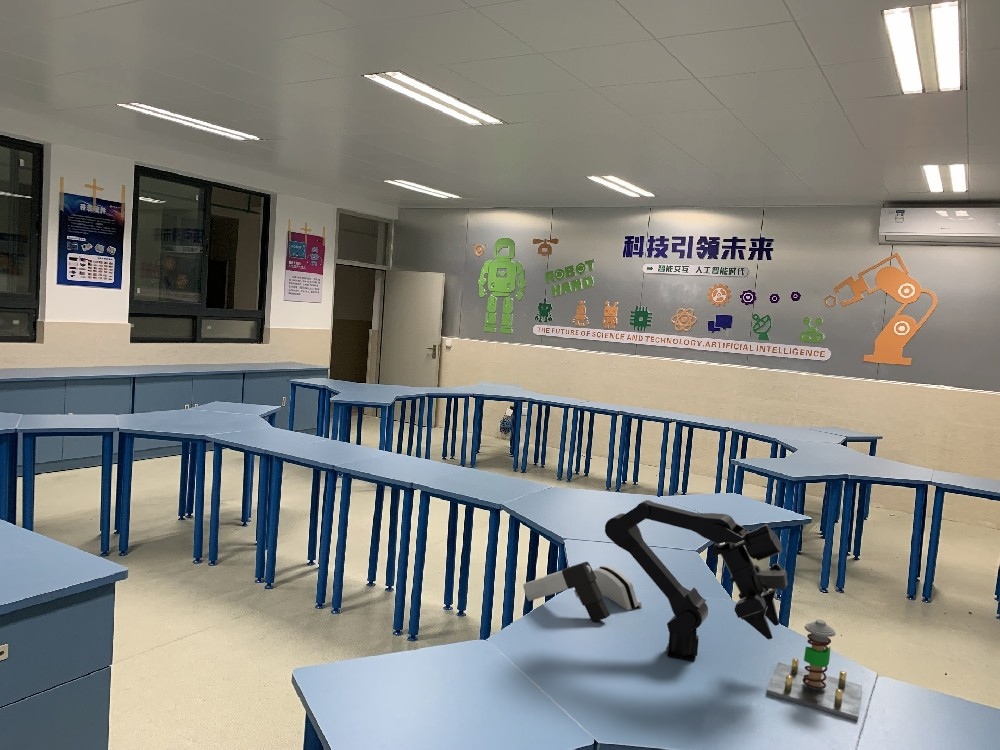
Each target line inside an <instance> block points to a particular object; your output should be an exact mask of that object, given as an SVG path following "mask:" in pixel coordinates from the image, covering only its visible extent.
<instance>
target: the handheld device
mask: <svg viewBox="0 0 1000 750" xmlns="http://www.w3.org/2000/svg"><path fill="white" fill-rule="evenodd" d="M593 571H594V570H593V568H592V567H591V564H590V563H589V562H588V561H584V562H580V563H577V564H574V565H572V566H568V567H566V568H563V569H562V570H560V571H559V570H558V571H557V572H553V573H550V574H547V575H545V576H543V577H539V578H536V579H534V580H531V581H527V582H525V583H523V591H524V595H525V597H526V598H527V601H528V602H531V601H534V600H537V599H540V598H541V599H542V598H544V597H547V596H552V595H554V594H557V593H560V592H563V591H567V590H570V589H574V590H573V592H574V594H575V598H579V600H580V602H581V604H582V606H584V608H585V609H586V612H587V613H588V614H587V615H588V616H589V618H590V621H591V622H597V621H602V620H604V619H607V618H609V617H610V616H611V613H610V611H609V609H608V608H607V605H606V603H605V601H604V594H602V593H601V591H600V589H599V587H598V585H597V583H596V581H595V580H596V579H597V578H596V576H595V574H594V572H593Z"/></svg>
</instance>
